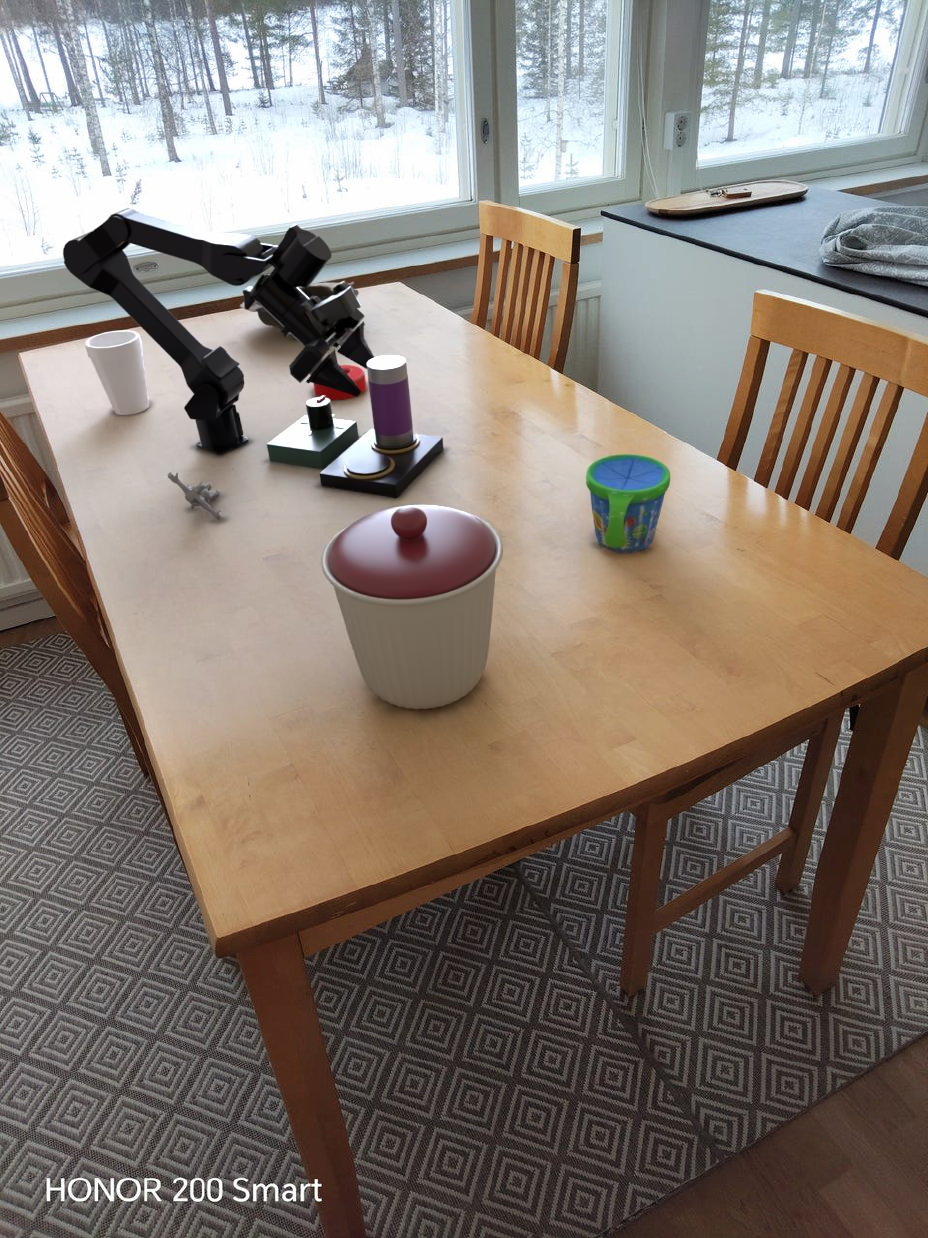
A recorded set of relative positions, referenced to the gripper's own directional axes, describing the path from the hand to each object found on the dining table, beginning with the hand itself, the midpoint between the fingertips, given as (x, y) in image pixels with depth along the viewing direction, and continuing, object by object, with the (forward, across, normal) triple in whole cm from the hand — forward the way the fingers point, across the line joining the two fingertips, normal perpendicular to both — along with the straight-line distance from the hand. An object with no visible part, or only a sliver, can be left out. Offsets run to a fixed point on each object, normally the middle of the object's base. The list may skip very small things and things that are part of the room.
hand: (369, 382), depth 140 cm
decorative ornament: (-3, +26, +20) cm, 33 cm away
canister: (+25, -53, -8) cm, 59 cm away
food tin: (+9, 0, +4) cm, 10 cm away
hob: (+10, -4, +7) cm, 13 cm away
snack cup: (+38, -21, -21) cm, 48 cm away
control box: (+1, 0, +16) cm, 16 cm away
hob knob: (-1, +3, +14) cm, 14 cm away
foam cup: (-28, +12, +46) cm, 56 cm away
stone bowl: (-19, +60, +36) cm, 73 cm away
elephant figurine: (-6, -22, +23) cm, 32 cm away
